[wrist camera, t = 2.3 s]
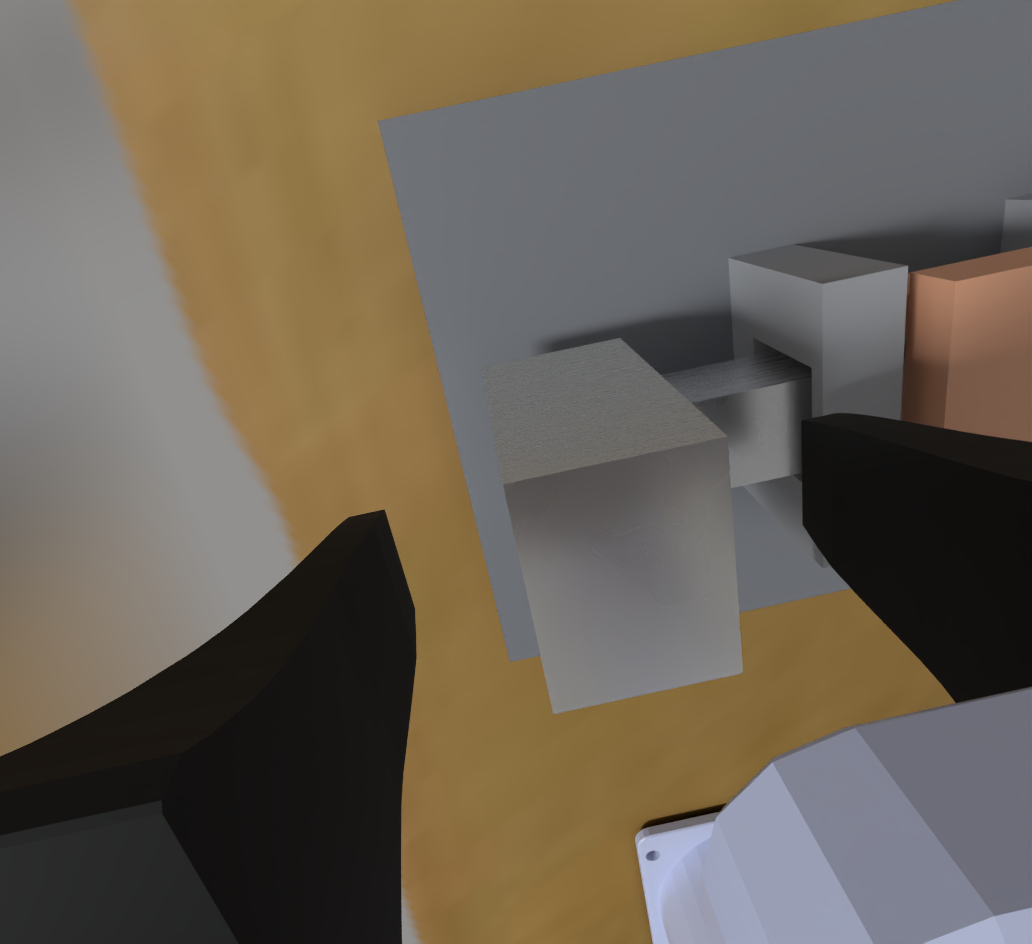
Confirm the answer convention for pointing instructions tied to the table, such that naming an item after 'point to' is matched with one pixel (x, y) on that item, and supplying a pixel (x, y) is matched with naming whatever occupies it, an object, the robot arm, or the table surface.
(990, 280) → the spacer
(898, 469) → the robot arm
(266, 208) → the table surface
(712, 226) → the bracket
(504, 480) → the shaft
